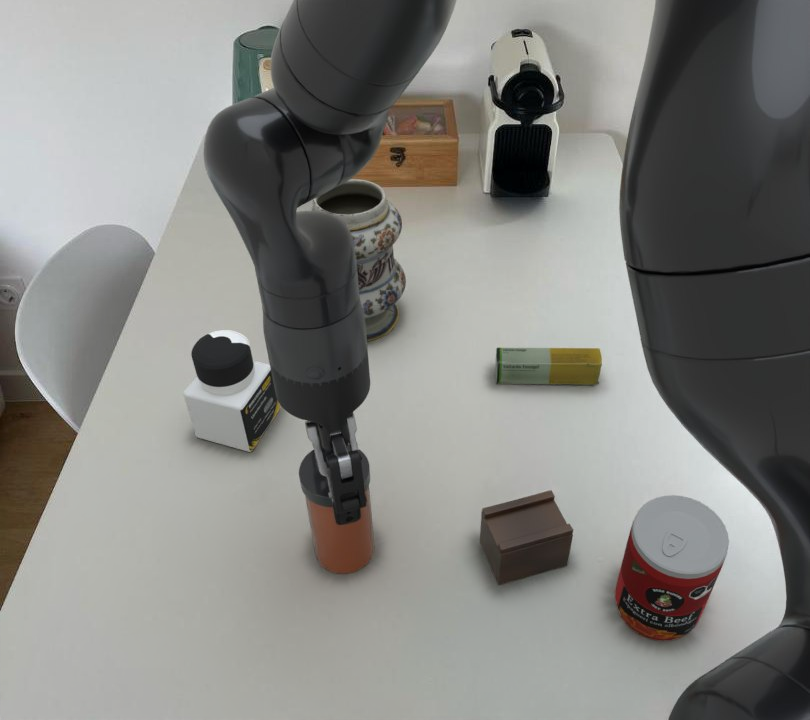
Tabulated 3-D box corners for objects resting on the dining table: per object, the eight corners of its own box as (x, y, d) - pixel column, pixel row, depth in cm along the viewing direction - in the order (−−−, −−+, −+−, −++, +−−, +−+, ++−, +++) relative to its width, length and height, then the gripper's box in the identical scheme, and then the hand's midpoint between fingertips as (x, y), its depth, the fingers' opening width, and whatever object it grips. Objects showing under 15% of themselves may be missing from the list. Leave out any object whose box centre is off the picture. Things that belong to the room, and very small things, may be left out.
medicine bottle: (251, 454, 88) (232, 374, 80) (195, 438, 90) (170, 358, 82) (281, 409, 93) (266, 330, 85) (226, 395, 95) (207, 316, 87)
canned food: (605, 628, 72) (624, 557, 65) (622, 556, 77) (641, 483, 70) (694, 656, 70) (724, 587, 62) (705, 580, 75) (734, 508, 68)
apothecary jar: (365, 277, 111) (356, 159, 99) (426, 317, 104) (424, 196, 92) (295, 317, 105) (276, 196, 93) (354, 362, 99) (342, 238, 86)
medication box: (494, 385, 95) (495, 363, 92) (494, 368, 97) (495, 345, 94) (599, 386, 94) (603, 363, 91) (596, 368, 96) (600, 345, 93)
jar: (307, 531, 81) (367, 515, 82) (320, 583, 76) (384, 565, 77) (292, 451, 73) (359, 435, 74) (306, 505, 68) (377, 487, 69)
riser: (545, 524, 80) (551, 488, 77) (567, 565, 77) (574, 530, 73) (479, 542, 79) (481, 507, 75) (498, 585, 76) (501, 551, 72)
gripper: (391, 397, 57) (399, 534, 68) (343, 282, 67) (357, 417, 78) (285, 422, 55) (311, 558, 66) (253, 300, 66) (280, 436, 76)
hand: (336, 482), depth 72 cm, fingers open, 8 cm apart
